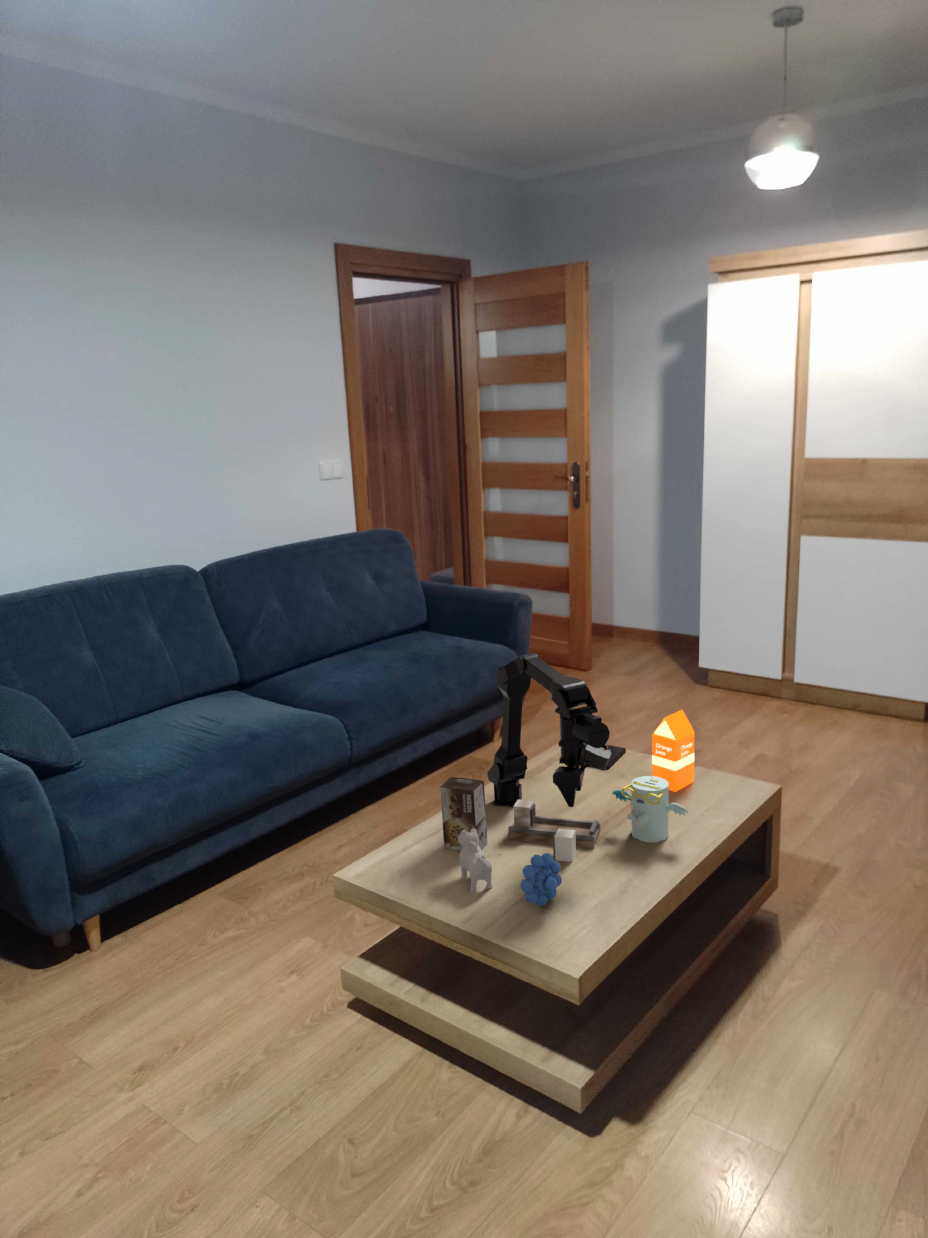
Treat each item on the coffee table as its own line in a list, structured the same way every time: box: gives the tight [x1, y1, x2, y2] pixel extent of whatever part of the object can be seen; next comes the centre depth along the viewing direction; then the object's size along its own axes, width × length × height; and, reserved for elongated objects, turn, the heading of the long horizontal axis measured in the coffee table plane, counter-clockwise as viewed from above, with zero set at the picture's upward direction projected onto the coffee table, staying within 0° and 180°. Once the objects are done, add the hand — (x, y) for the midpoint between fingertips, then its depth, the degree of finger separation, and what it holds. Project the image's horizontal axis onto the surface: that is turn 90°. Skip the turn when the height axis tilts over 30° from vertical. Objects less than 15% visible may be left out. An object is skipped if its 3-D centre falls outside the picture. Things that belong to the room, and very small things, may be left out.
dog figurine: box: [458, 829, 493, 893], centre depth 203 cm, size 5×13×11 cm, turn 20°
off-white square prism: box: [552, 829, 577, 863], centre depth 211 cm, size 4×4×6 cm
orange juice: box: [651, 709, 695, 793], centre depth 246 cm, size 8×9×20 cm
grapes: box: [520, 852, 563, 907], centre depth 190 cm, size 12×7×12 cm, turn 132°
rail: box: [507, 799, 602, 849], centre depth 222 cm, size 21×9×8 cm, turn 71°
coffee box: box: [439, 776, 488, 852], centre depth 218 cm, size 9×6×16 cm
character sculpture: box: [611, 775, 689, 843], centre depth 218 cm, size 20×12×13 cm, turn 52°
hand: (574, 798), depth 212 cm, fingers open, 9 cm apart
